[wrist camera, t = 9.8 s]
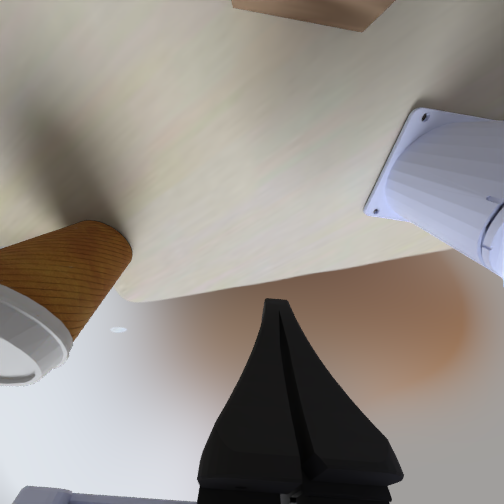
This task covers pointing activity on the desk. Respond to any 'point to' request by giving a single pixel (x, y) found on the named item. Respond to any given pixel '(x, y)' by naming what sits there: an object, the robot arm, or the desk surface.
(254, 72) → the desk surface
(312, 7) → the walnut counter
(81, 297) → the disposable coffee cup
